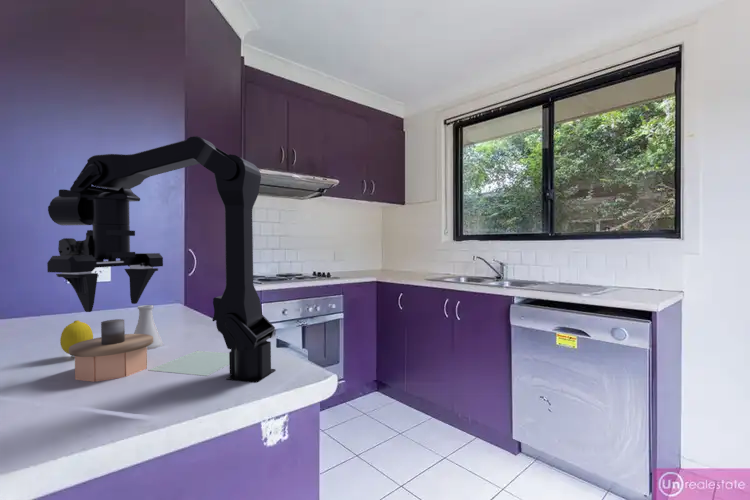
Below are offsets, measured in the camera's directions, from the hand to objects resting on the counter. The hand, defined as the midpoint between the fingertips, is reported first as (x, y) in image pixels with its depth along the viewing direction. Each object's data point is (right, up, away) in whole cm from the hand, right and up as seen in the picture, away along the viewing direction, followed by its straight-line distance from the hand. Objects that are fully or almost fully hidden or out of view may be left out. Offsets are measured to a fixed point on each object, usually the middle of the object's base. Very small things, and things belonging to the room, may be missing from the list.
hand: (112, 307), depth 70 cm
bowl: (0, -12, 0) cm, 12 cm away
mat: (+15, -12, +5) cm, 20 cm away
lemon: (-15, -13, +10) cm, 22 cm away
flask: (-4, -12, +17) cm, 21 cm away
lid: (0, -7, 0) cm, 7 cm away
